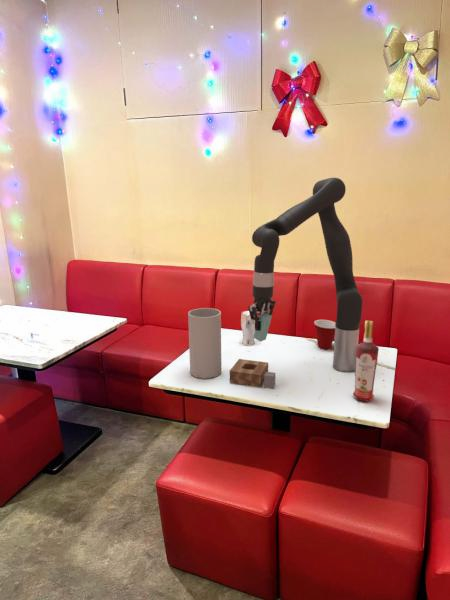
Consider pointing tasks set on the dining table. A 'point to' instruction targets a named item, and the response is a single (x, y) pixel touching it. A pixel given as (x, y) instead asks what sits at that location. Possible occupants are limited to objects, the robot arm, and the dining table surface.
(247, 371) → the socket block
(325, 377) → the dining table surface
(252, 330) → the beer glass
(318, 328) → the plastic cup
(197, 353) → the cylinder vase
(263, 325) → the long pin
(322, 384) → the dining table surface
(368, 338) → the liquor
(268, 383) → the short pin
